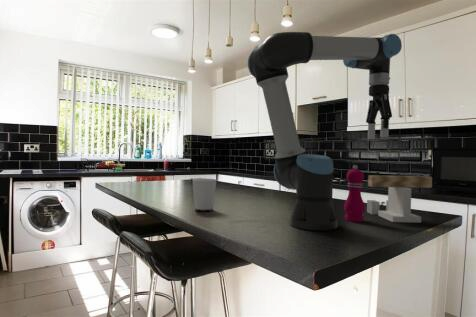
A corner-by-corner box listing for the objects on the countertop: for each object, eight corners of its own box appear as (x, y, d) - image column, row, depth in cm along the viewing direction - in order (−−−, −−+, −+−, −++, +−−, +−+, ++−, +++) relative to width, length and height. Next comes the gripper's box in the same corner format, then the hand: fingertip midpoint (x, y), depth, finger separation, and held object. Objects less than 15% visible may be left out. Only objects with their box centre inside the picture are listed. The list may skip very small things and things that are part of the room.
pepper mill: (361, 218, 119) (362, 164, 119) (367, 222, 112) (368, 165, 112) (341, 217, 120) (342, 164, 119) (346, 222, 113) (347, 165, 112)
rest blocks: (371, 214, 128) (372, 201, 128) (366, 212, 133) (367, 200, 133) (399, 214, 128) (399, 202, 128) (393, 212, 133) (393, 200, 133)
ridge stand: (392, 222, 114) (393, 188, 114) (378, 215, 126) (378, 185, 126) (421, 222, 114) (421, 188, 114) (403, 216, 126) (404, 185, 125)
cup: (188, 209, 134) (189, 178, 133) (211, 207, 138) (211, 178, 137) (196, 213, 125) (196, 180, 124) (219, 211, 129) (220, 180, 128)
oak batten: (371, 186, 118) (372, 175, 118) (368, 185, 121) (368, 175, 121) (431, 187, 118) (432, 176, 118) (426, 186, 121) (426, 176, 121)
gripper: (403, 78, 117) (401, 136, 117) (376, 91, 142) (375, 139, 142) (382, 78, 117) (380, 136, 118) (359, 91, 142) (357, 139, 142)
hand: (377, 138), depth 130 cm, fingers open, 13 cm apart
